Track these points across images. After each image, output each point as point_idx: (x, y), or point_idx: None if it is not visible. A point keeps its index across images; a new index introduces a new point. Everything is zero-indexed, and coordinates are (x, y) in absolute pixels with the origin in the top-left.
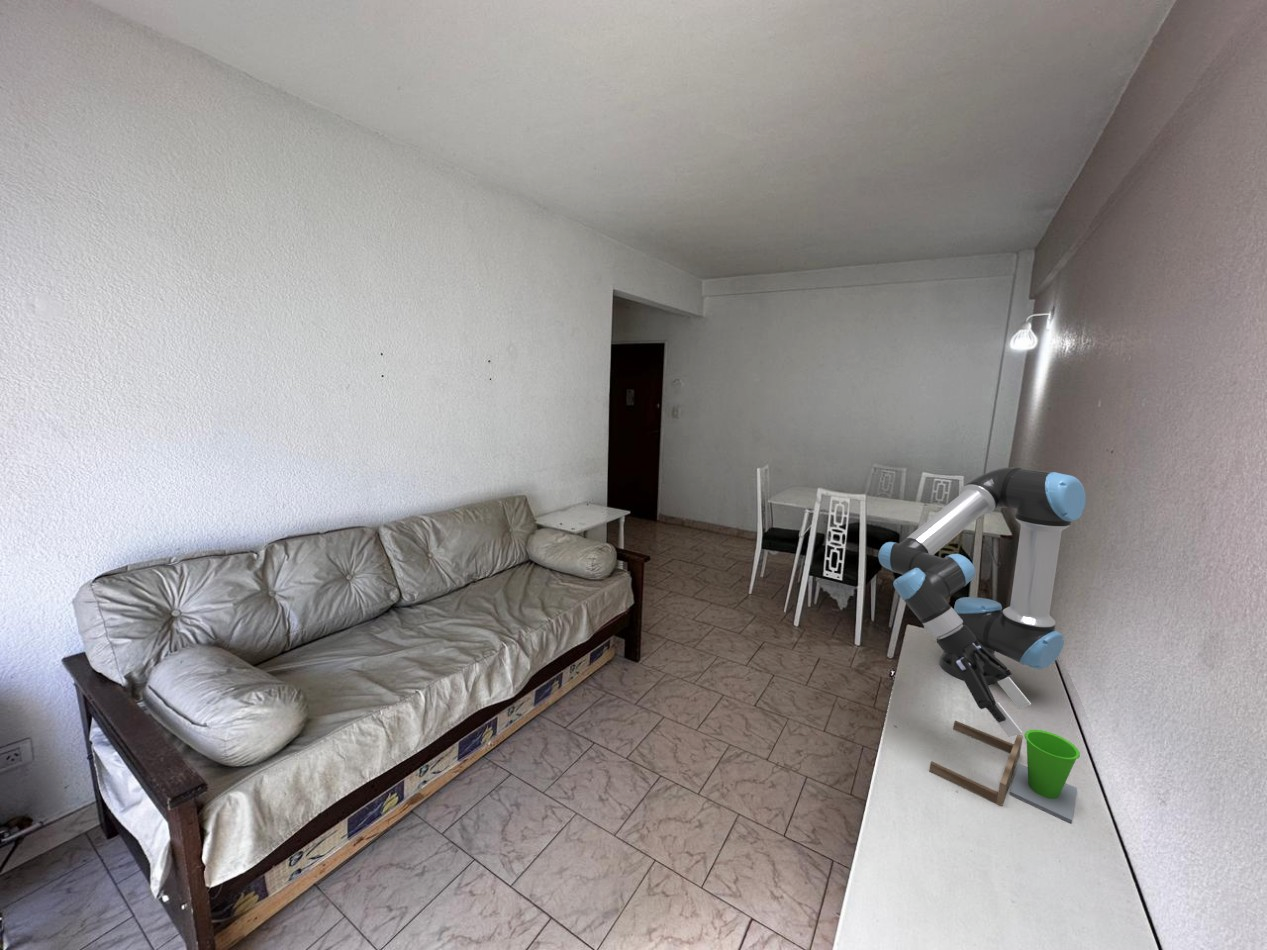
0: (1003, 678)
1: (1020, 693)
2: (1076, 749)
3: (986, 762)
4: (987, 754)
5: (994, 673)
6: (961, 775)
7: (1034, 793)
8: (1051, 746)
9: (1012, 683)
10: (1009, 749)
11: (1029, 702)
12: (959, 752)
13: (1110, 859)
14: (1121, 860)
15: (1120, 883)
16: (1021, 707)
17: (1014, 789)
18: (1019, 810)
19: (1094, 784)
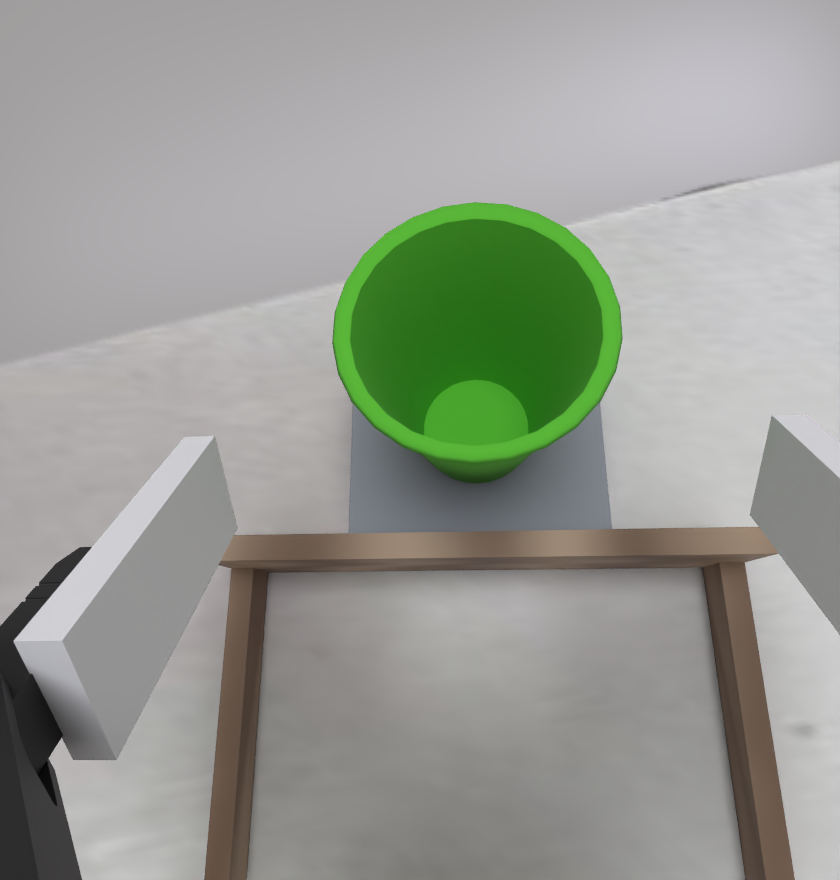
0: (42, 703)
1: (168, 505)
2: (422, 221)
3: (434, 662)
4: (359, 671)
5: (63, 850)
6: (749, 737)
7: (534, 454)
8: (374, 362)
9: (112, 584)
10: (259, 591)
11: (192, 444)
12: (454, 794)
13: (677, 236)
14: (650, 214)
15: (773, 208)
16: (232, 508)
17: (580, 520)
18: (680, 487)
19: (256, 309)
